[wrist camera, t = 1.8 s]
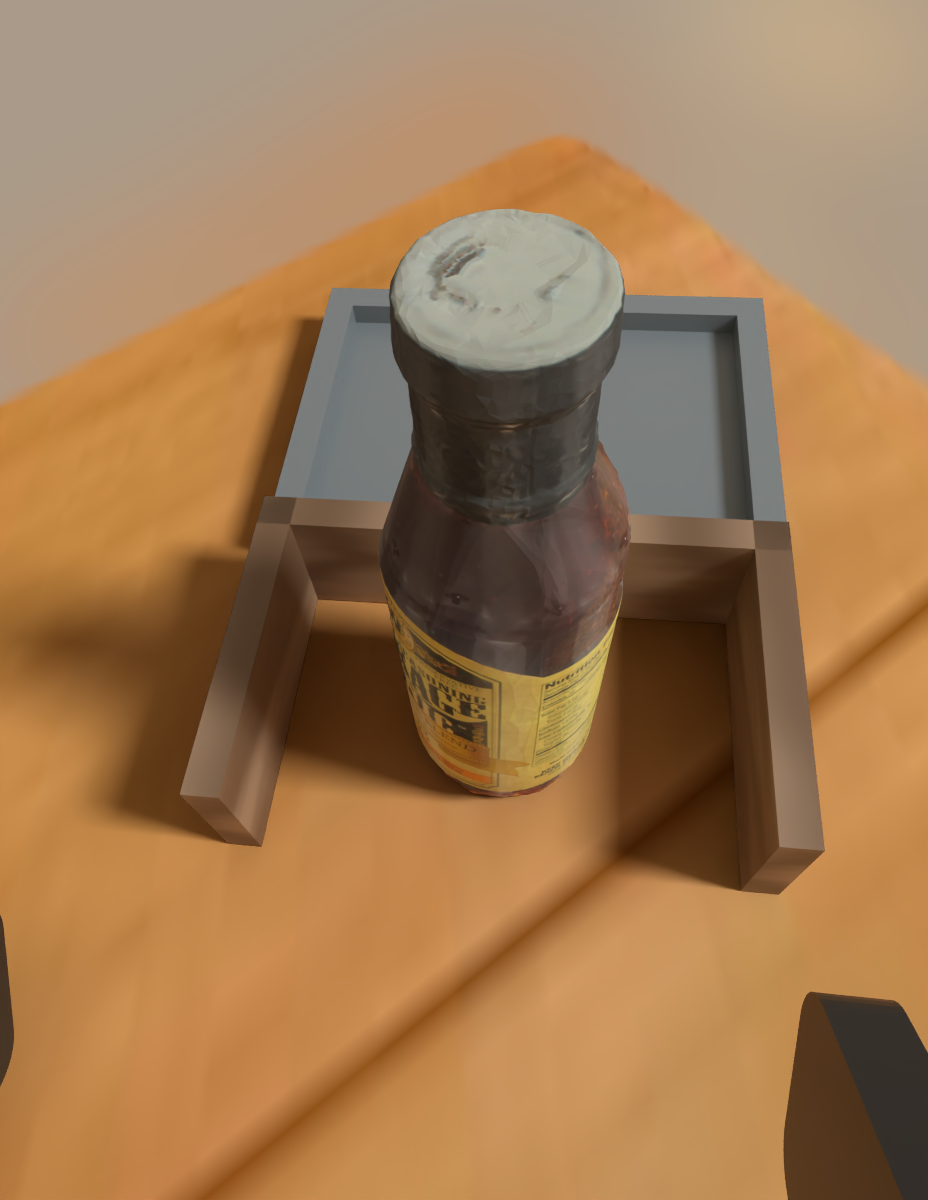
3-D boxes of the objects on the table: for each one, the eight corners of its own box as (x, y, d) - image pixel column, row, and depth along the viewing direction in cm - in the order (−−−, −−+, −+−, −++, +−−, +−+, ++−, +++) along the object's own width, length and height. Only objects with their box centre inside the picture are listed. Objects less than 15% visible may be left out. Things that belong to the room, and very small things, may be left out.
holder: (227, 843, 30) (179, 794, 26) (295, 572, 36) (264, 496, 32) (779, 894, 28) (824, 850, 24) (755, 599, 34) (789, 522, 30)
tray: (280, 555, 36) (267, 523, 34) (340, 324, 44) (332, 287, 42) (775, 583, 34) (789, 551, 32) (751, 336, 41) (762, 298, 40)
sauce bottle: (393, 688, 33) (258, 210, 16) (543, 626, 34) (565, 115, 17) (463, 846, 29) (385, 455, 13) (626, 773, 31) (756, 320, 14)
